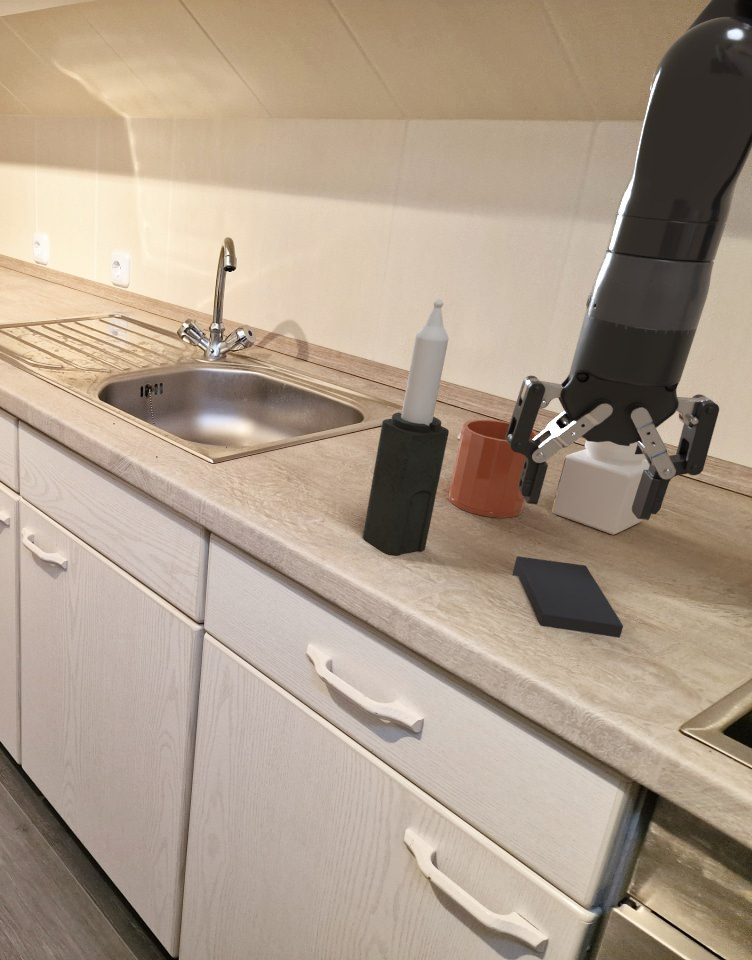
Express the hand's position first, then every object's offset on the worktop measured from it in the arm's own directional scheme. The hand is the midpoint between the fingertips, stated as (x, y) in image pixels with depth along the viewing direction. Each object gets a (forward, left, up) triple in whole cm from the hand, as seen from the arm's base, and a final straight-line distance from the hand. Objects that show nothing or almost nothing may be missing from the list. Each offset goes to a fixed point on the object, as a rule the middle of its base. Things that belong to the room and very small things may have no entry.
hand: (584, 508), depth 71 cm
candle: (+13, -11, -11) cm, 20 cm away
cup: (+2, -26, -11) cm, 28 cm away
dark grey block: (0, 0, -11) cm, 11 cm away
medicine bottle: (-10, -26, -11) cm, 30 cm away
